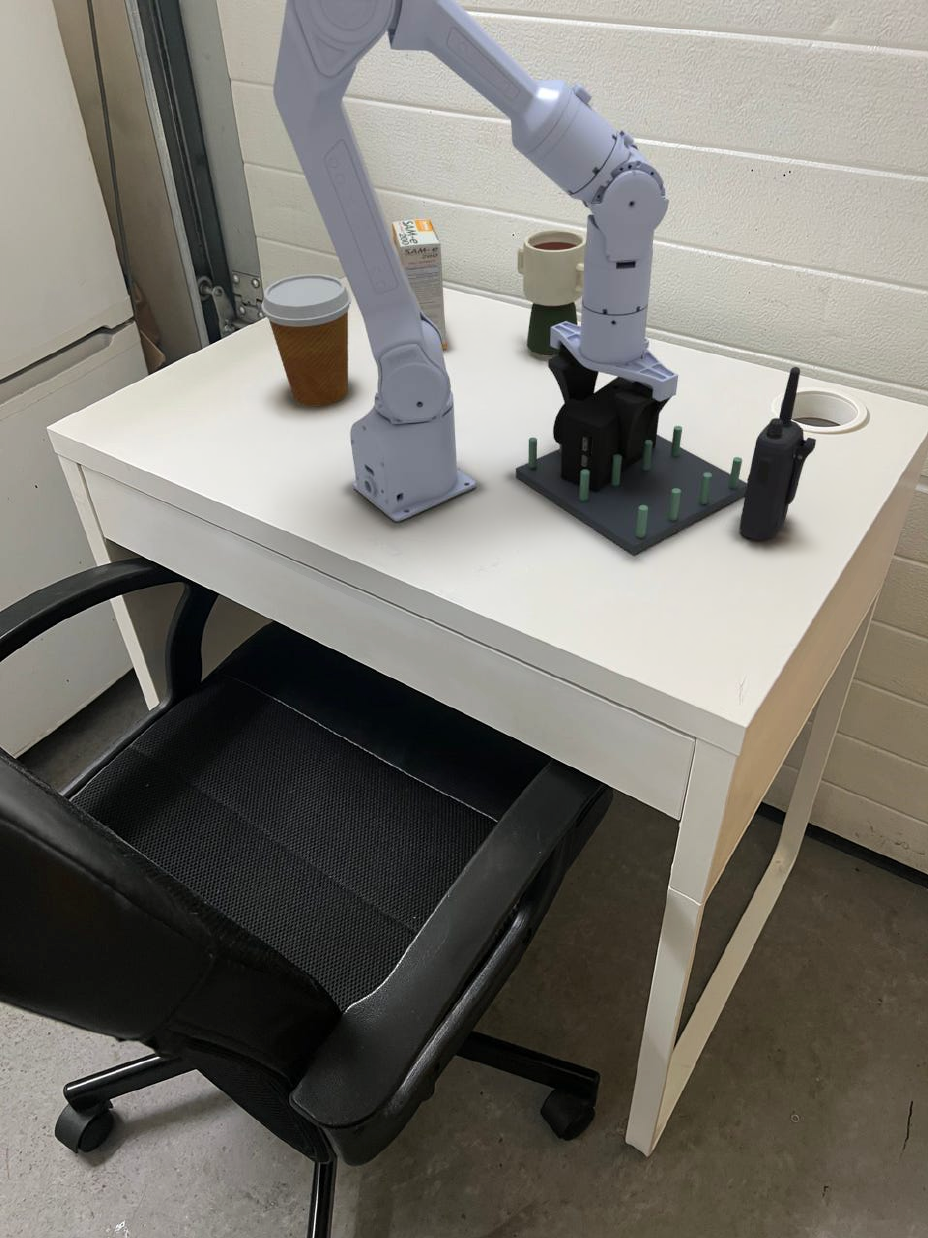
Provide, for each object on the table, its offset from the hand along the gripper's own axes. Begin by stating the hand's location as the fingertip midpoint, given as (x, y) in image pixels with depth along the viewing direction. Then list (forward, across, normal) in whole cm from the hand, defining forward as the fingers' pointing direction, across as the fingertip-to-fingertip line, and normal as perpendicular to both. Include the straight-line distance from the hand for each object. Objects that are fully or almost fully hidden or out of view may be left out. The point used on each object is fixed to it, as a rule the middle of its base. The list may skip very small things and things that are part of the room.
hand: (605, 439), depth 90 cm
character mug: (+4, +23, -14) cm, 27 cm away
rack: (+3, -4, 0) cm, 5 cm away
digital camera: (+3, 0, 0) cm, 3 cm away
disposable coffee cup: (+4, +32, +14) cm, 35 cm away
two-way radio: (+4, -17, -4) cm, 18 cm away
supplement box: (+4, +36, -4) cm, 37 cm away
